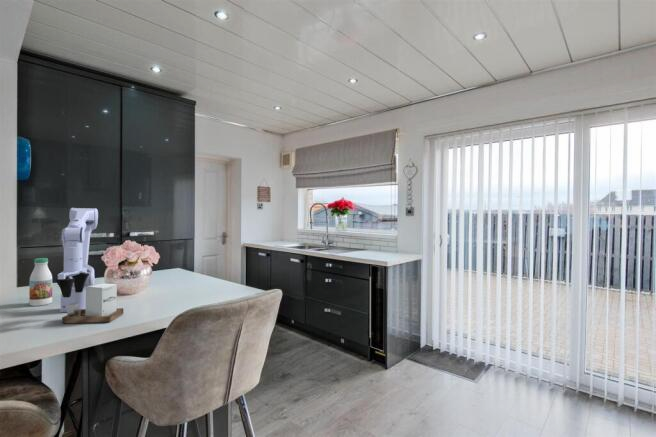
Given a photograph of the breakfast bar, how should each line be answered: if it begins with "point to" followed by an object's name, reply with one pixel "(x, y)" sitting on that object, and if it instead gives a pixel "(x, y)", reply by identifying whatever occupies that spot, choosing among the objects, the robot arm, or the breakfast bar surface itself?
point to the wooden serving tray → (75, 317)
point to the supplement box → (101, 299)
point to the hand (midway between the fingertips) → (72, 294)
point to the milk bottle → (40, 284)
